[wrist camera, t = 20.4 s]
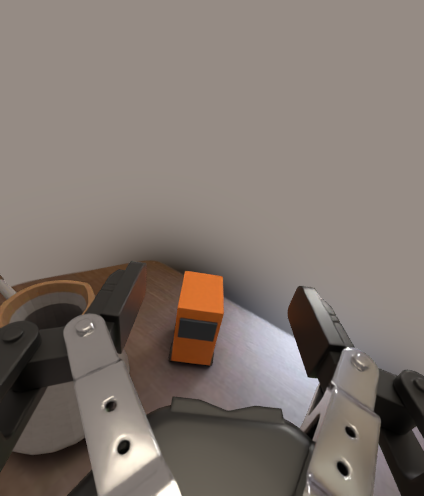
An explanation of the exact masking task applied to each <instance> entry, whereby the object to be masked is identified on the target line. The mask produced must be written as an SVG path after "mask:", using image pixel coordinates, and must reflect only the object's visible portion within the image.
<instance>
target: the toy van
mask: <svg viewBox="0 0 424 496" xmlns="http://www.w3.org/2000/svg"><path fill="white" fill-rule="evenodd" d="M223 314H224V307H223V277H222V276H216V275H209V274H203V273H196V272H189V271H185V275H184V280H183V285H182V289H181V294H180V299H179V304H178V309H177V317H176V324H175V330H174V341H173V343H172V344H171V349H170V354H169V361H178V362H186V363H194V364H203V365H209V366H212V363H213V356H214V348H215V344H216V340H217V337H218V333H219V329H220V326H221V322H222V318H223Z"/></svg>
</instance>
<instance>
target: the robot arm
mask: <svg viewBox="0 0 424 496" xmlns="http://www.w3.org/2000/svg"><path fill="white" fill-rule="evenodd" d="M146 269H147V266H146V263H141V262H134V261H131V262H130V263H129V265H128V266H127V268H126V270H119V269H118V270H117V271H115V272H114V273H112V274H111V275H110V276H109V277H108V279H107V280H106V282H105V284H104V285H103V286H102V288H101V290H100V291H99V293H98V294H97V296H96V297H95V299H94V300H93V302H92V303H91V305H90V306H89V308H88V309H87V311H86V312H85V313H84V314H83V315H80V316H77V317H75V318H74V319H72V320H71V321H70V322H68V324H67V325H66V326H63V327H56V328H49V329H41V330H39V329H38V327H37V325H36V324H35V323H33V322H31V321H17V322H13V323H10V324H7V325H5V326H3V327H1V328H0V472H1V470H2V469H3V467H4V465H5V463H6V461H7V460H8V458H9V456H10V454H11V452H12V451H13V449H14V447H15V445H16V443H17V442H18V440H19V438H20V436H21V434H22V433H23V431H24V429H25V427H26V425H27V424H28V422H29V420H30V418H31V416H32V415H33V413H34V411H35V409H36V407H37V406H38V404H39V402H40V400H41V398H42V397H43V395H44V393H45V391H46V389H47V388H48V386H52V385H57V384H62V383H67V382H72V381H73V383H74V388H75V392H76V397H77V401H78V406H79V411H80V415H81V420H82V424H83V429H84V434H85V438H86V443H87V448H88V452H89V457H90V461H91V466H92V470H91V471H90V472H89V473H88V474H87V475H86V476H85V477H84V478H83V479H82V480H81V481H80V482H79V484H78V485H77V486H76V487H75V488H74V489H73V490H72V491H71V492H70V493H69V494H68V495H67V496H373V489H374V480H375V471H376V462H377V452H378V443H379V445H380V448H381V450H382V452H383V454H384V457H385V459H386V461H387V464H388V466H389V468H390V470H391V473H392V475H393V477H394V480H395V482H396V484H397V487H398V489H399V491H400V493H401V496H424V451H423V449H422V447H421V446H420V444H419V442H418V440H417V438H416V437H415V435H414V433H413V431H412V429H413V428H414V427H416V426H417V428H418V429H419V431H420V433H421V435H422V436H423V438H424V376H423V375H421V374H419V373H417V372H415V371H412V370H404V371H402V372H401V373H400V374H399V375H398V376H397V375H394V374H392V373H389V372H387V371H384V370H382V369H379V368H378V367H377V365H376V363H375V362H374V361H373V360H372V359H371V358H370V357H369V356H368V355H367V354H366V353H364V352H362V351H361V350H359V349H356V348H355V347H354V345H353V344H352V342H351V340H350V338H349V337H348V335H347V333H346V332H345V330H344V328H343V326H342V325H341V323H340V321H339V319H338V318H337V317H336V314H335V312H334V311H333V309H332V307H331V306H330V305H329V304H328V303H327V302H326V301H325V300H324V299H321V298H320V297H319V295H318V293H317V291H316V289H315V288H311V287H304V286H299V287H298V288H297V289H296V292H295V294H294V296H293V298H292V300H291V303H290V305H289V308H288V319H289V322H290V325H291V328H292V331H293V334H294V337H295V340H296V343H297V346H298V349H299V352H300V355H301V358H302V361H303V364H304V367H305V370H306V373H307V376H308V377H309V378H318V380H319V385H318V386H317V388H316V391H315V393H314V396H313V398H312V401H311V404H310V406H309V409H308V411H307V414H306V416H305V419H304V421H303V423H302V425H301V427H300V428H298V427H297V426H295V425H294V424H293V423H291V422H289V421H287V420H285V419H284V418H283V414H282V409H279V408H270V407H261V406H252V407H247V408H242V409H236V410H231V411H227V410H224V409H222V408H219V407H217V406H214V405H212V404H209V403H207V402H205V401H202V400H199V399H190V398H181V397H172V403H171V405H170V406H165V407H162V408H159V409H157V410H154V411H152V412H151V413H149V414H147V415H146V414H145V412H144V409H143V407H142V404H141V402H140V399H139V397H138V394H137V392H136V390H135V387H134V385H133V382H132V380H131V377H130V375H129V372H128V370H127V367H126V365H125V363H124V361H123V360H122V359H120V358H119V356H118V354H122V351H123V349H124V346H125V344H126V341H127V339H128V336H129V334H130V331H131V329H132V326H133V324H134V321H135V319H136V316H137V314H138V311H139V309H140V306H141V304H142V301H143V299H144V296H145V292H146ZM117 353H118V354H117Z"/></svg>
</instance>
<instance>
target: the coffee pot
mask: <svg viewBox="0 0 424 496" xmlns="http://www.w3.org/2000/svg"><path fill="white" fill-rule="evenodd" d="M0 292H1V293H2V295H3V296H4V297H5V298H6V299H7V300H6V301H5V302H4V303H3V304H2V305H1V307H0V328H1V327H3V326H5V325H7V324H10V323H13V322H17V321H31V322H33V323H35V324H36V325H37V327H38V329H39V330H41V329H49V328H56V327H63V326H66V325H67V324H68V322H70V321H71V320H72V319H74V318H75V317H77V316H80V315H83V314H84V313H85V312H86V311H87V309H88V308H89V306H90V305H91V303H92V302H93V300H94V299H95V295H94V292H93V290H92V288H91V286H90V285H89V283H84V282H79V281H70V280H56V281H48V282H43V283H39V284H36V285H33V286H30V287H28V288H25V289H23V290H21V291H19V292H18V293H16V292H15V291H14V290H13V289H12V288H11V287H10V286H9V285H8V284H7V283H6V282H5V281H4V279H3V278H2V276H1V275H0ZM117 354H118V353H117ZM118 356H119V358H120V359H122V360H123V361H124V363H125V365H126V367H127V370H128V372H129V370H130V367H129V361H128V356H127V354H126V352H125V350H124V349H123V351H122V354H118ZM84 438H85V434H84V429H83V424H82V420H81V415H80V411H79V406H78V401H77V397H76V392H75V388H74V383H73V381H72V382H67V383H62V384H57V385H52V386H48V388H47V389H46V391H45V393H44V395H43V397H42V398H41V400H40V402H39V404H38V406H37V407H36V409H35V411H34V413H33V415H32V416H31V418H30V420H29V422H28V424H27V425H26V427H25V429H24V431H23V433H22V434H21V436H20V438H19V440H18V442H17V443H16V445H15V447H14V449H13V452H18V453H23V454H29V455H37V454H45V453H52V452H56V451H58V450H61V449H63V448H66V447H68V446H71V445H73V444H76V443H78V442H79V441H81V440H82V439H84Z"/></svg>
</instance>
